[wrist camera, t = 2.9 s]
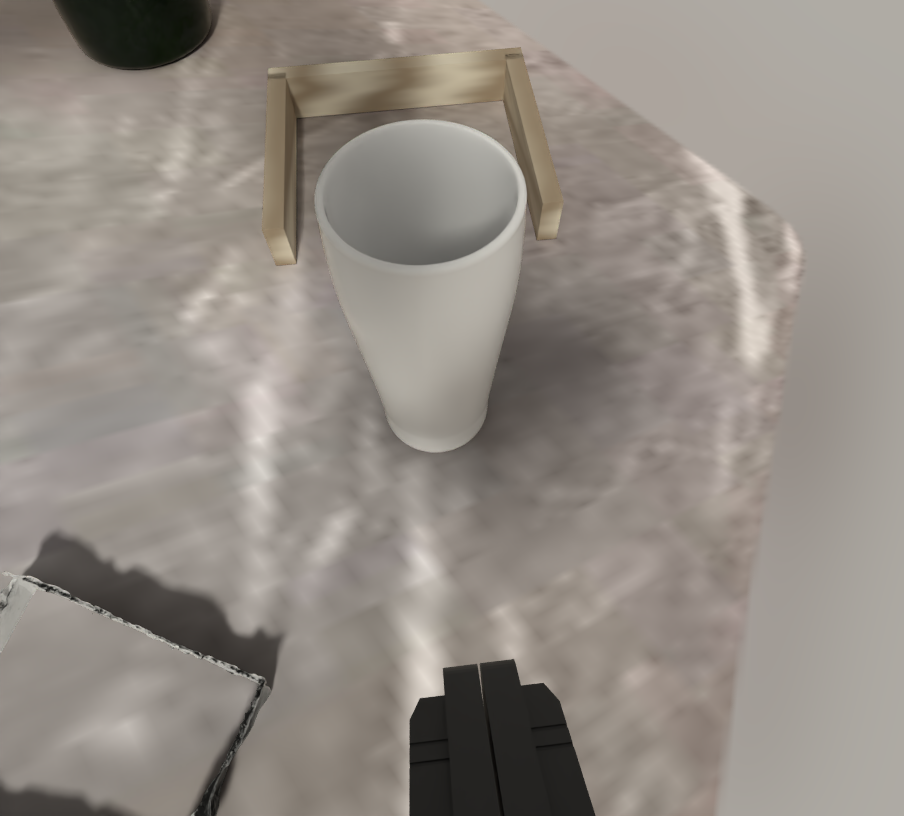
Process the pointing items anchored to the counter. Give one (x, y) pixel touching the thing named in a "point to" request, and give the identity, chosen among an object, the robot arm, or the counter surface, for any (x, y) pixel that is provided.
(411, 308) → the drinking glass
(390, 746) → the counter surface
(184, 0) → the beer bottle
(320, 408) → the counter surface
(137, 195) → the counter surface
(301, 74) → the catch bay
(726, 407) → the counter surface
